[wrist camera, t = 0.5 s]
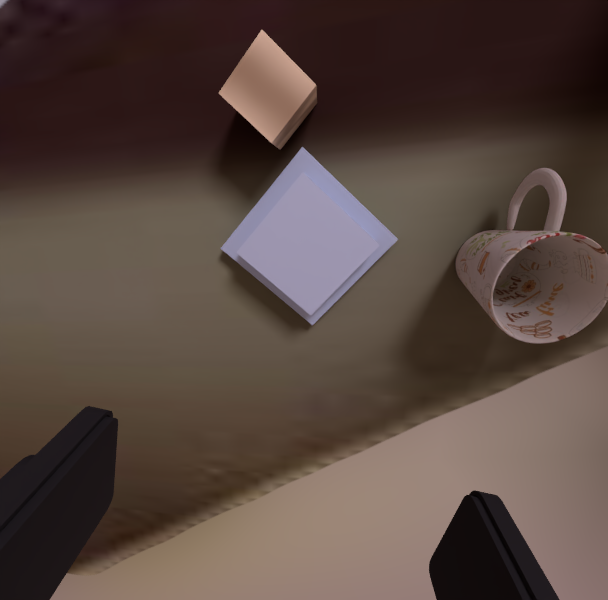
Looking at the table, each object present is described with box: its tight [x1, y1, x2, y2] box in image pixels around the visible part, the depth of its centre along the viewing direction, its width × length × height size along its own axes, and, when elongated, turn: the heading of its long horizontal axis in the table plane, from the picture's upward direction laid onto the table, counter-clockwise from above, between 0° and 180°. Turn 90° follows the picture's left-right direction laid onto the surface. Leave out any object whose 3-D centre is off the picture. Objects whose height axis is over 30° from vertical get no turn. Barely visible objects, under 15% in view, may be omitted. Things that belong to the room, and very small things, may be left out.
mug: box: [456, 168, 608, 343], centre depth 28 cm, size 8×13×10 cm, turn 179°
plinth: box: [221, 147, 398, 325], centre depth 32 cm, size 12×12×4 cm
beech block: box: [219, 30, 317, 150], centre depth 27 cm, size 5×5×6 cm
